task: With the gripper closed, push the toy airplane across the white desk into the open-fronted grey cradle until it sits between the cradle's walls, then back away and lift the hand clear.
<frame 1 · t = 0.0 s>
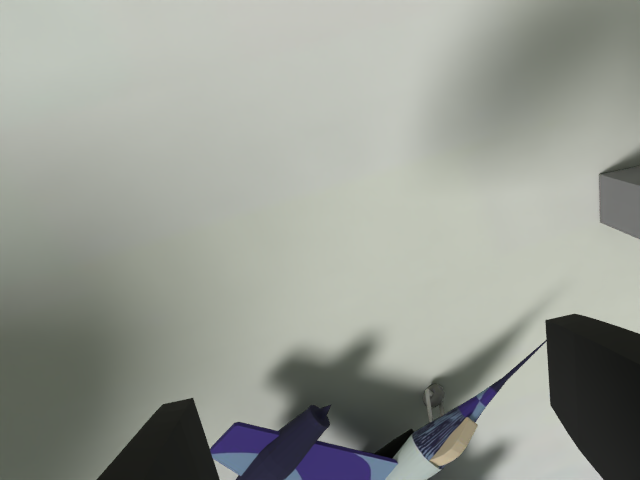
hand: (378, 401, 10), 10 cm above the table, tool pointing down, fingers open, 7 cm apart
toy airplane: (368, 444, 23), on the table
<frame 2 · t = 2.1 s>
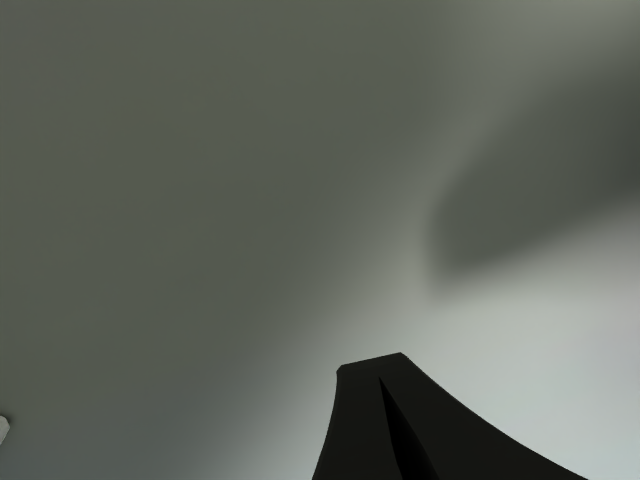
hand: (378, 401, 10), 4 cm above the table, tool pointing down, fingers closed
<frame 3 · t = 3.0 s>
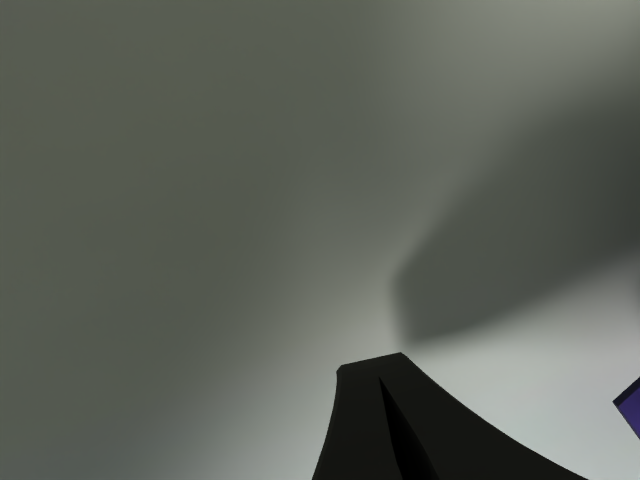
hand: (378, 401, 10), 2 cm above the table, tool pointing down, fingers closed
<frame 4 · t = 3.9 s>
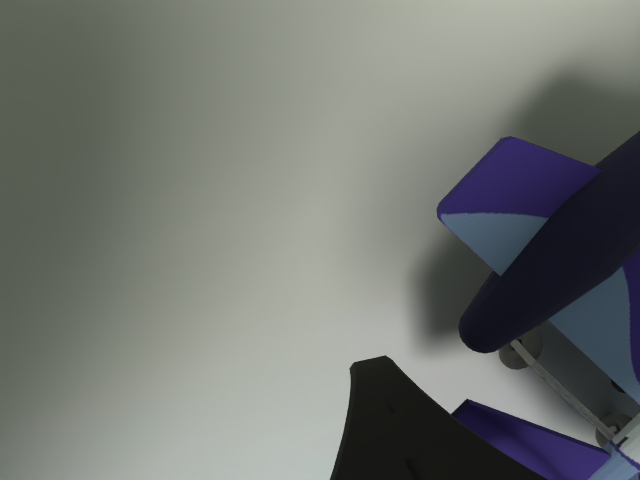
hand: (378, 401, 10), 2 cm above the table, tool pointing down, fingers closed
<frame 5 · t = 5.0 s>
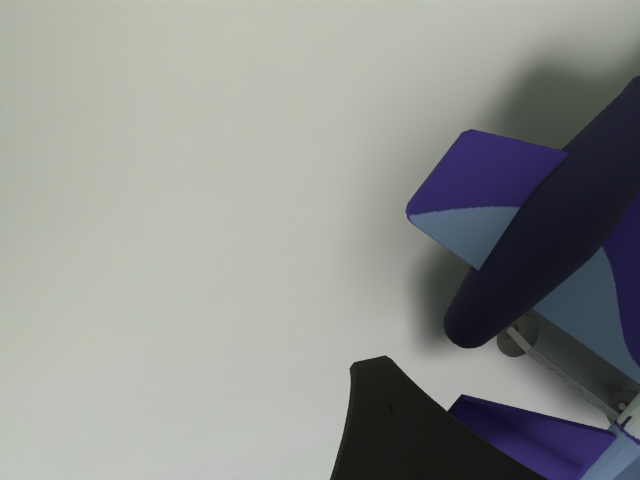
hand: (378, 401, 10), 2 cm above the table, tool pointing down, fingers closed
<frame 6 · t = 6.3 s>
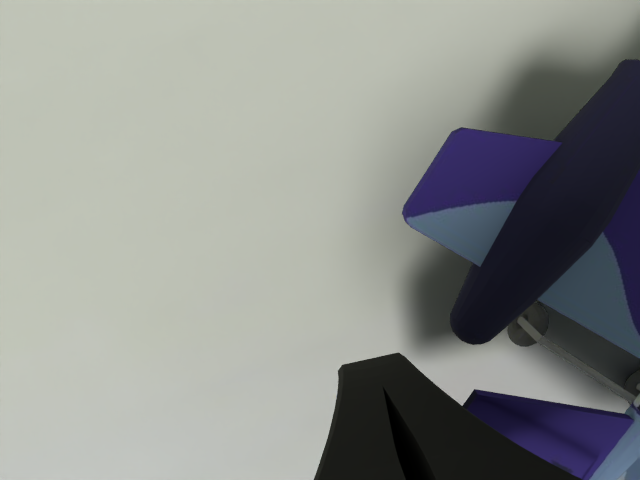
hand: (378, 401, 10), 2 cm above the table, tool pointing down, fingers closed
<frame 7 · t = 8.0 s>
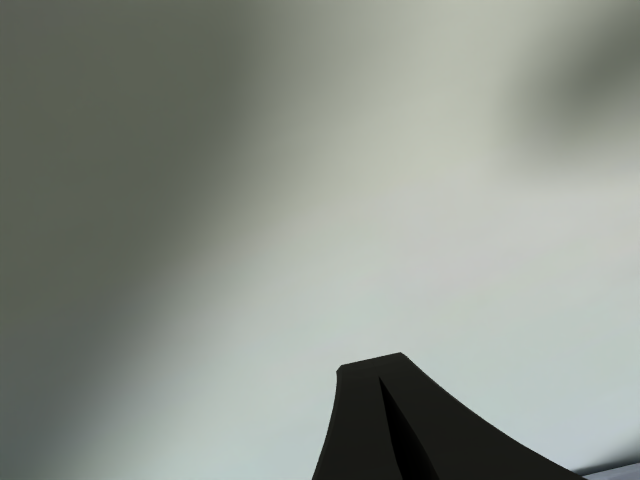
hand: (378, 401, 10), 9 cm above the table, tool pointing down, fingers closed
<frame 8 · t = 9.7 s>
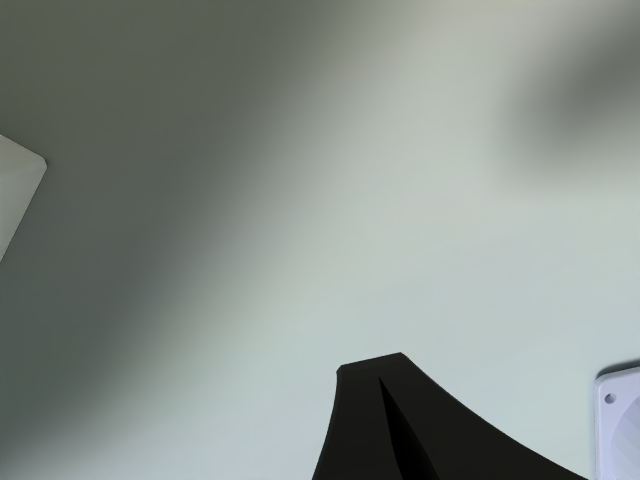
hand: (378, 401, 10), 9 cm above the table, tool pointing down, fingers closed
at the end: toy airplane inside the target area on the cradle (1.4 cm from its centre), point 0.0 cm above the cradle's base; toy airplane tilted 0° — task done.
